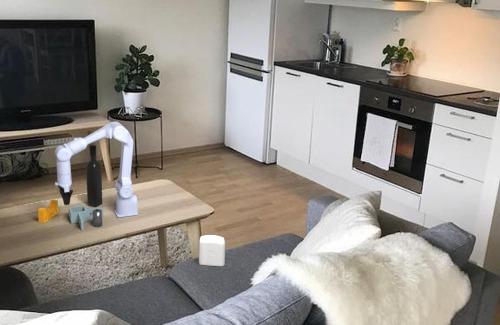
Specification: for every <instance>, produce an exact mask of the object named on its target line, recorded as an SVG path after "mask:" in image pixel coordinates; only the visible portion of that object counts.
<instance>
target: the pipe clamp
mask: <svg viewBox="0 0 500 325" xmlns="http://www.w3.org/2000/svg"><path fill="white" fill-rule="evenodd" d="M49 202H50V203H49V205H48V206H47V207H46V208H45V207H39V208H38V209H37V214H38V223H41V224H45V223H46V222H47V221H49V220H51V219H52V218H53V217H55V216H56V215H57V214H59V201H58V200H57V199H51V200H50V201H49Z"/></svg>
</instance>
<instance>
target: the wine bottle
mask: <svg viewBox="0 0 500 325" xmlns="http://www.w3.org/2000/svg"><path fill="white" fill-rule="evenodd" d="M89 155H90V156H89V158H90V159H89V161H88V162H87V163H86V166H85V175H86V176H85V177H86V198H87V200H86V201H87V205H88V206H89V207H93V208H98V207H99V206H101V205H103V179H102V178H103V176H102V174H103V172H102V165H101V163H100V161H98V159H97V145H95V144H91V145H90V144H89Z"/></svg>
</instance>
